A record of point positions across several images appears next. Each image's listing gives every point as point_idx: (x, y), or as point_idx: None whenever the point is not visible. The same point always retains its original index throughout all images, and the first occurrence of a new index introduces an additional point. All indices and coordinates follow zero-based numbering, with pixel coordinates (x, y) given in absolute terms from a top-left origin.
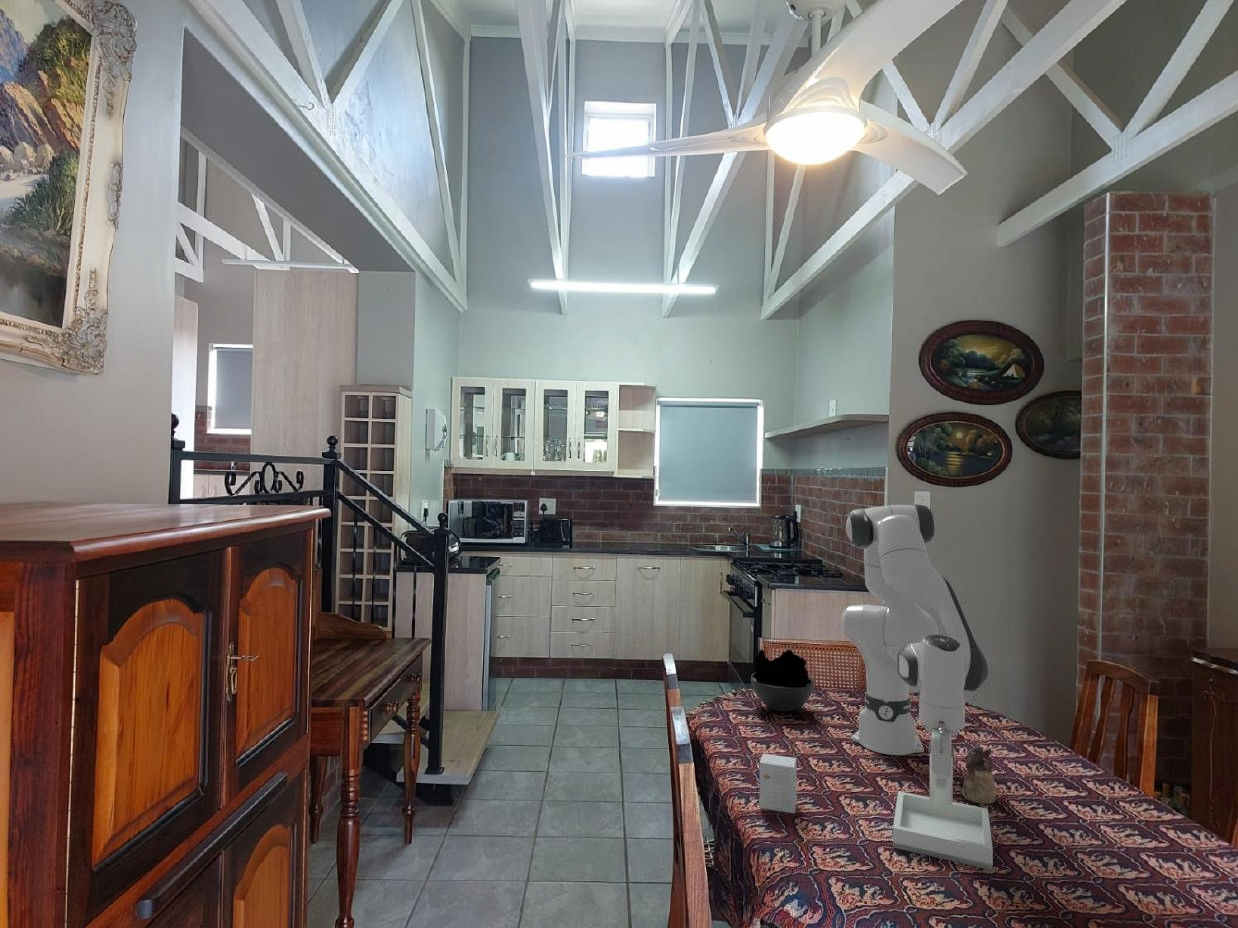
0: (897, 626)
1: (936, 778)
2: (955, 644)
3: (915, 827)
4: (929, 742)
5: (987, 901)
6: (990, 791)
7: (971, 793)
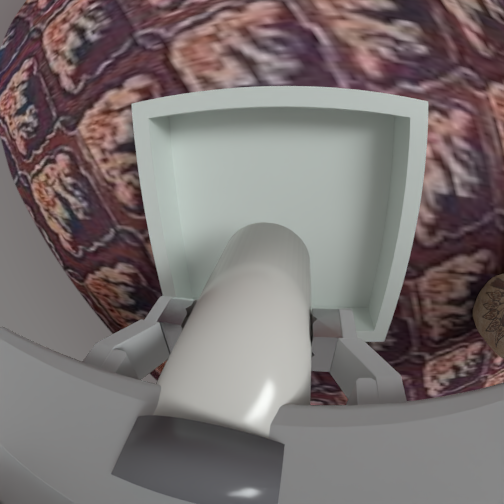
0: None
1: (146, 317)
2: None
3: (274, 147)
4: (200, 500)
5: (94, 276)
6: (482, 335)
7: (489, 297)
